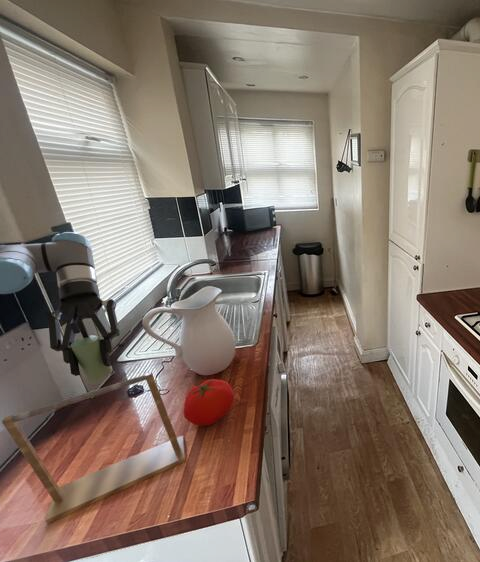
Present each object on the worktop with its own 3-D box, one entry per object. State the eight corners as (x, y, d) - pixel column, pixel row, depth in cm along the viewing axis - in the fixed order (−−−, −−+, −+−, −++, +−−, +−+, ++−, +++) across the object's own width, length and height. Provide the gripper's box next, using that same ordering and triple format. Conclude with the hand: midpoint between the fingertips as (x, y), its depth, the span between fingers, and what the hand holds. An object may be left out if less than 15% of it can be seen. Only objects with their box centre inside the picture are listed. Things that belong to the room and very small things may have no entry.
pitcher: (229, 346, 121) (212, 281, 111) (247, 364, 110) (231, 294, 99) (159, 375, 106) (132, 303, 95) (171, 400, 95) (143, 321, 84)
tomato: (209, 397, 95) (200, 369, 91) (245, 401, 93) (238, 373, 89) (177, 432, 83) (165, 402, 79) (218, 437, 81) (208, 407, 77)
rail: (47, 524, 63) (-15, 437, 54) (57, 491, 69) (4, 408, 60) (186, 461, 75) (155, 381, 66) (184, 438, 82) (156, 362, 72)
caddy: (84, 383, 75) (56, 326, 69) (88, 372, 79) (62, 317, 73) (111, 375, 78) (86, 319, 72) (113, 365, 82) (90, 311, 76)
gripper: (125, 284, 88) (141, 359, 82) (38, 300, 79) (48, 387, 73) (117, 272, 82) (133, 352, 76) (21, 288, 73) (30, 381, 67)
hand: (91, 369), depth 74 cm, fingers closed on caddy, 5 cm apart
